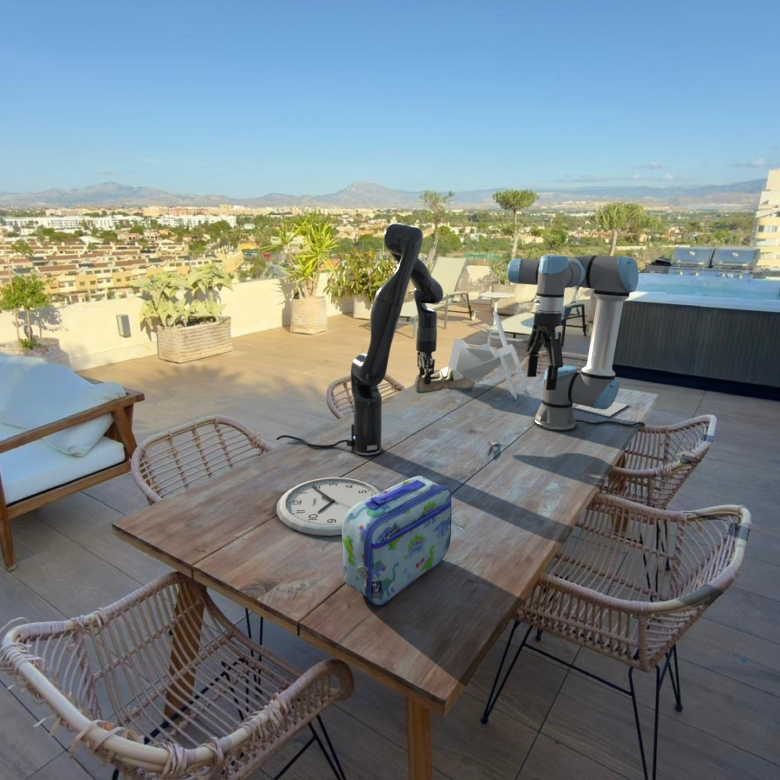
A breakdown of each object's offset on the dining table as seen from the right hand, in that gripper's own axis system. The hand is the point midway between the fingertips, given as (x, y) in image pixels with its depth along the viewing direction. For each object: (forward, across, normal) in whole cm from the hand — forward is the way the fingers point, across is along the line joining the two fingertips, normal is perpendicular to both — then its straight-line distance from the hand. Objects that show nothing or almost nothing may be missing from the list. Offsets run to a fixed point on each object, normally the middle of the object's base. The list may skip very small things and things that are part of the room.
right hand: (540, 382), depth 155 cm
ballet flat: (+16, -47, -17) cm, 52 cm away
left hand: (+13, -47, -25) cm, 54 cm away
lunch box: (+29, +45, -49) cm, 73 cm away
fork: (+29, -20, -6) cm, 36 cm away
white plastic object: (+29, -83, +9) cm, 88 cm away
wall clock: (+29, +13, -62) cm, 70 cm away
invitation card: (+29, -58, +56) cm, 86 cm away
